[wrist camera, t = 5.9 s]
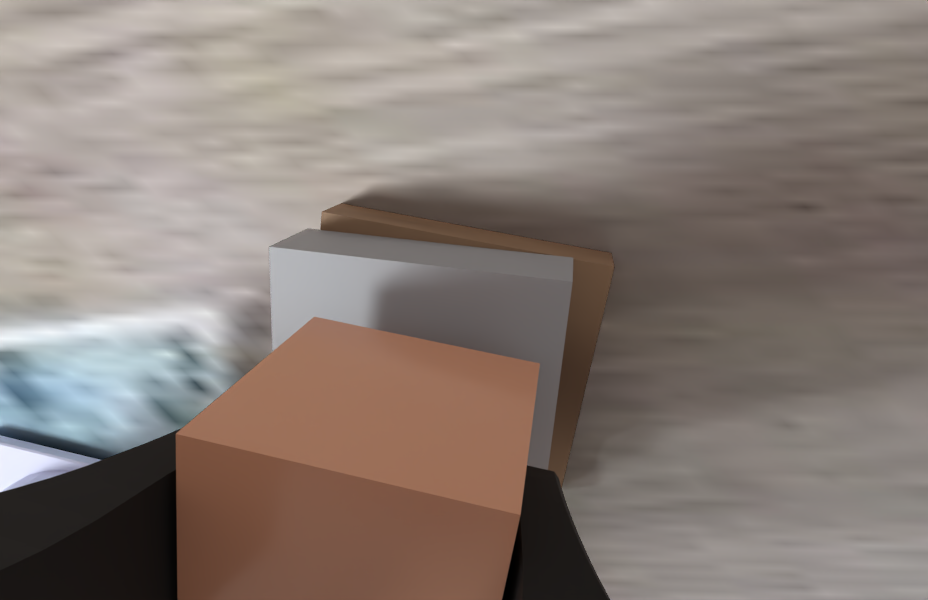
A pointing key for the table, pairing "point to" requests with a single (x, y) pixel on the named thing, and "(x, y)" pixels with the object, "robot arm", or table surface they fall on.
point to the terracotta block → (356, 472)
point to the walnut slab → (587, 263)
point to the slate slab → (432, 300)
